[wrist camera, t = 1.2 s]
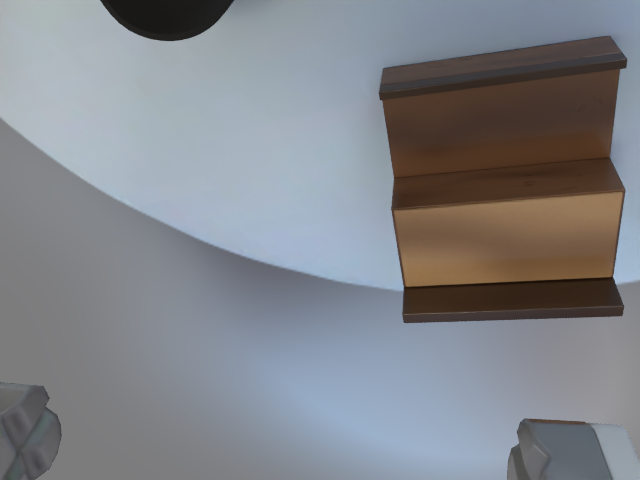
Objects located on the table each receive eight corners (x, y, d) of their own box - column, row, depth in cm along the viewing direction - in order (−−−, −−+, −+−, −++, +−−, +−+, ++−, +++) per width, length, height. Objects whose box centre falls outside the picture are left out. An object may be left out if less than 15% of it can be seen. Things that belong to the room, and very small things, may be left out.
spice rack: (382, 68, 40) (371, 133, 33) (610, 35, 37) (658, 100, 29) (407, 241, 50) (403, 323, 42) (590, 228, 46) (622, 316, 38)
